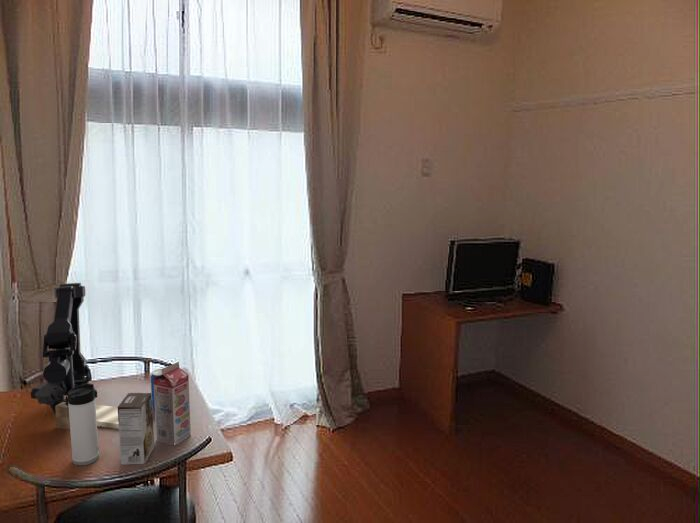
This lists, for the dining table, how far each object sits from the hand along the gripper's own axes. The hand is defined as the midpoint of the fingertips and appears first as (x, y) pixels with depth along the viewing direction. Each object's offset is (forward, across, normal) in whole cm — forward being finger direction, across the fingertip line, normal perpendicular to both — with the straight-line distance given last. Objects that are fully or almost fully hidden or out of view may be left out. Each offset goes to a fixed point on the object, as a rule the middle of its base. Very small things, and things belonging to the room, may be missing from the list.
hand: (66, 420), depth 156 cm
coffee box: (+2, +31, -10) cm, 32 cm away
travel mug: (+2, +19, -14) cm, 24 cm away
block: (+2, 0, +5) cm, 5 cm away
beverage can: (+2, +20, +20) cm, 28 cm away
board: (+2, +7, +8) cm, 10 cm away
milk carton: (+2, +35, +2) cm, 35 cm away
